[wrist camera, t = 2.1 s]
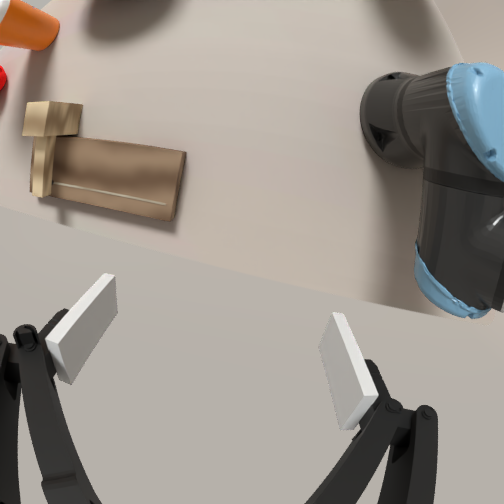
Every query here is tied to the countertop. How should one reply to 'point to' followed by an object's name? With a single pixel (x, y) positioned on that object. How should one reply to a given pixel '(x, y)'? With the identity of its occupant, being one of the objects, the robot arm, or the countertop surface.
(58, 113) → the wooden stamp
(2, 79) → the flower
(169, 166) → the plank
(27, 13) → the shaker bottle
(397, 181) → the countertop surface
